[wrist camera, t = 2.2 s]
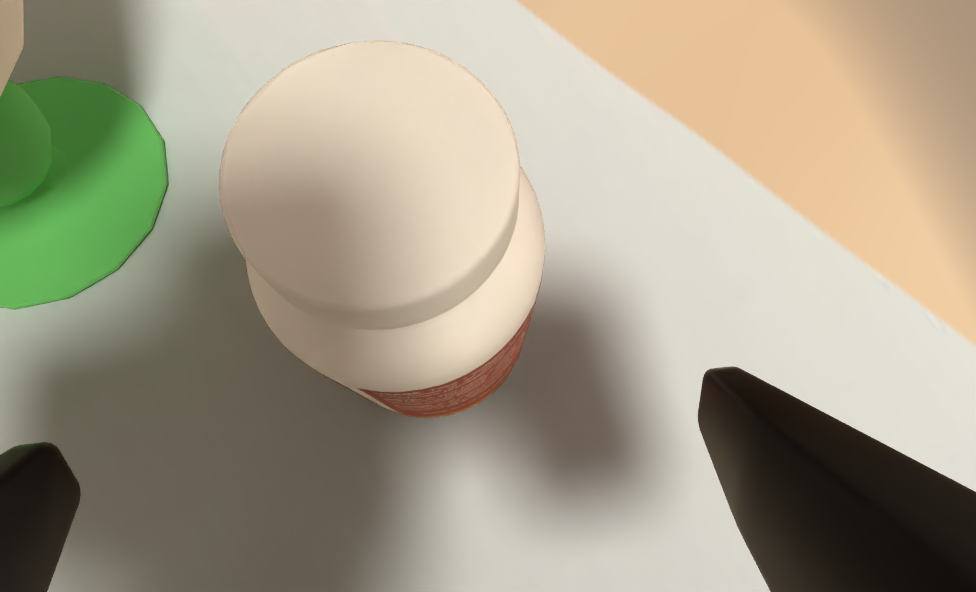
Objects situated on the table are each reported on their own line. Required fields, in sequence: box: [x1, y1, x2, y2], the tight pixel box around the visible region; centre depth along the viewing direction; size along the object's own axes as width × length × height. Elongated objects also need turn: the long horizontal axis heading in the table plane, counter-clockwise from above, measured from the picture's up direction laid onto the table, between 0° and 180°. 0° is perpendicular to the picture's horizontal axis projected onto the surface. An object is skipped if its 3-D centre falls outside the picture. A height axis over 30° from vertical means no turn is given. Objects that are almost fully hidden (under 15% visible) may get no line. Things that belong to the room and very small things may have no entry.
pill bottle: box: [219, 41, 545, 417], centre depth 14 cm, size 6×6×11 cm
